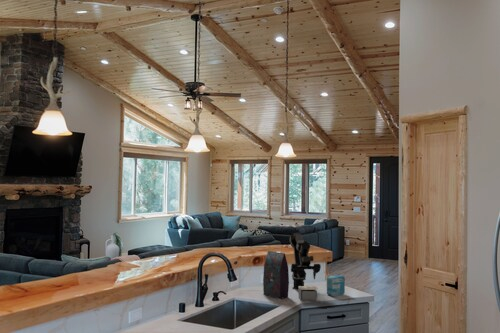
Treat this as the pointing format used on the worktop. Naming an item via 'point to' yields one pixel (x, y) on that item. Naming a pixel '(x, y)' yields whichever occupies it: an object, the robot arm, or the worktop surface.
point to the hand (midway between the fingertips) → (307, 279)
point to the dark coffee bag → (276, 275)
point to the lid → (307, 287)
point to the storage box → (307, 295)
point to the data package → (335, 285)
